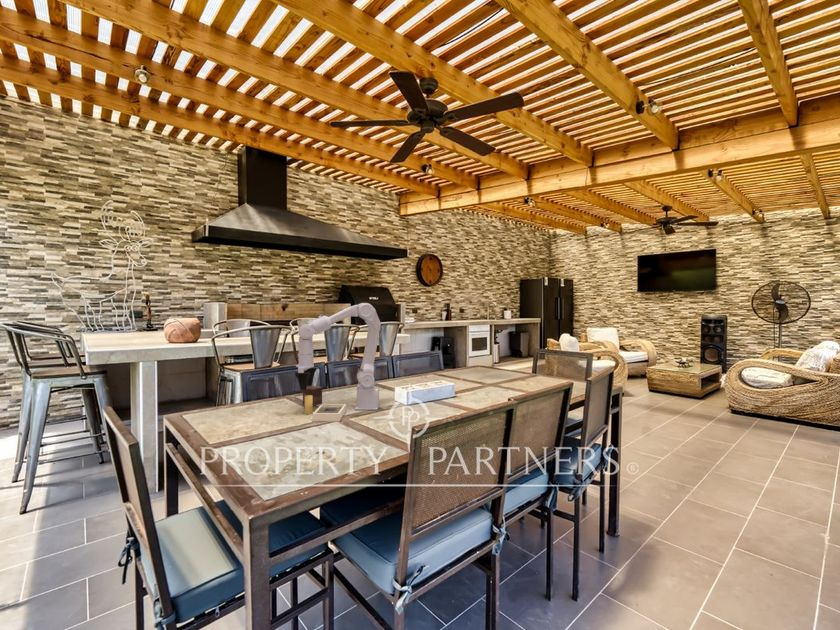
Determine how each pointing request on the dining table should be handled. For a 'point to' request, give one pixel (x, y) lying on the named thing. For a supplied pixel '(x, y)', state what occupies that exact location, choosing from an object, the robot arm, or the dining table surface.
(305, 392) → the box
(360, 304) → the robot arm
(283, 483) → the dining table surface
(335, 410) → the socket plate
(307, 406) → the peg
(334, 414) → the tray
